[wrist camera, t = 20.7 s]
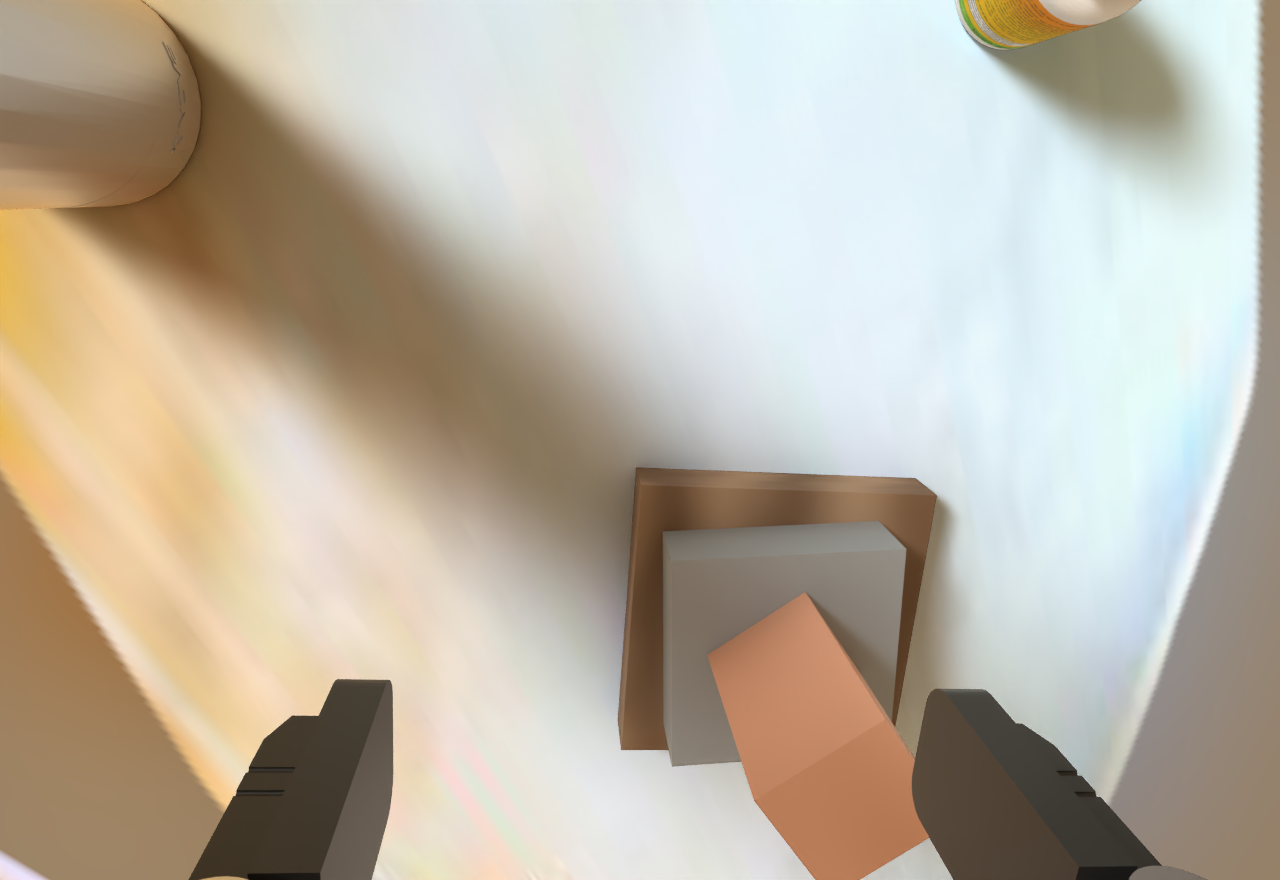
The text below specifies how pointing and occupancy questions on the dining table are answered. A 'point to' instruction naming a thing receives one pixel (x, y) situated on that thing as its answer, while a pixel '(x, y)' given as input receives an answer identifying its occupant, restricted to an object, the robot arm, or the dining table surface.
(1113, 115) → the dining table surface
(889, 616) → the slate top block
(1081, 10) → the supplement bottle
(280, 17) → the dining table surface
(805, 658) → the terracotta block
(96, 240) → the dining table surface
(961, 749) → the robot arm
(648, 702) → the walnut base block
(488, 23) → the dining table surface
